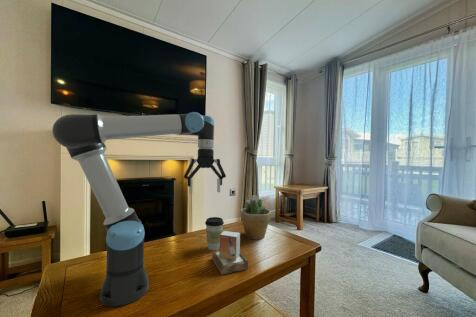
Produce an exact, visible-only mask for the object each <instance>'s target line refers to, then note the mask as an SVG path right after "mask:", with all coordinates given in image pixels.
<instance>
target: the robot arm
mask: <svg viewBox="0 0 476 317" xmlns="http://www.w3.org/2000/svg"><path fill="white" fill-rule="evenodd" d="M51 130H52V135H53V138H54V139H55V141H56V142H57V143H58V144H59V145H61V146H63V147H65V148H66V150H67V152H68V154H69V156H70V158H71V160H74V161H77V162H78V163H79V165H80V167H81V169H82V171H83V174H84V177H85V178H86V179H87V182H88V184H89V185H90V188H91V190H92V192H93V194H94V196H95V198H96V201H97V202H98V203H97V204H99V207H100V209H101V211H102V213H103V215H104V217H105V219H104V221H103V226H104V228H105V230H106V237H105V242H106V271H105V272H106V274H105V276H104V280H103V283H102V285H101V289H100V291H99V301H100V303H101V304H102V305H104V306H106V307H111V308H112V307H121V306H122V307H123V306H125V305H128V304H129V305H130V304H131V303H134V302H136V301H137V300H139V299H141V298H142V297H143V296H144V295H146V293H147V292H148V290H149V285H150V284H149V282H150V280H149V277H148V273H147V271H146V268H145V266H144V264H145V263H144V262H145V261H144V259H145V234H146V232H145V228H144V225H143V224H142V221H141V219H139V218H138V216H137V213H136V211H135V209H134V208H132V207H129V205H128V203H127V201H126V199H125V196H124V195H123V192H122V190H121V188H120V185H119V183H118V181H117V178H116V176H115V175H114V173H113V170H112V168H111V165H110V163H109V161H108V159H107V156H106V155H105V152H106V151H107V145H106V144H105V142H106V141H108V140H110V141H111V140H121V139H133V138H141V137H144V138H145V137H155V136H168V135H169V136H170V135H179V136H195V137H197V148H198V149H197V158H191V159H190V163H189V165H188V167H187V169H186V171H185V173H184V175H183V178H184V179H186V180H187V182H186V183H187V184H186V185H187V187H189V194H190V195H192V194H193V179H192V178H194V176H195V175H196V174H197V172H198V171H199V170H200V169H209V168H210V170H212V171H213V172H214V174H215V175H216V176H217V177H218V178H217V179H216V181H217V184H216V192H217V193H221V186H223V179H224V178H226V177H227V175H226V173H225V170H224V169H223V166H222V165H221V160H220V159H219V158H216V159H215V158H214V157H215V156H214V153H215V152H214V148H215V145H214V144H215V143H214V142H215V141H214V139H215V138H214V136H215V120H214V117H213V116H210V115H202V114H200V113H199V112H197V111H192V112H188V113H181V114H180V113H179V114H176V113H175V114H156V115H155V114H153V115H152V114H151V115H130V116H129V115H128V116H106V117H105V116H101V115H100V114H98V113H97V114H87V113H86V114H80V113H77V114H75V113H71V114H66V115H63V116H60V117H59V118H58V119H57V120H56V121H55V122H54V124H53V126H52V129H51ZM196 163H197V165H196V167H195V168H194V169H193V167H194V164H196ZM214 163H215V164H216V166H217V168H218V169H216V167H215V166H214V165H213V164H214ZM192 169H193V170H192ZM218 170H219V171H218ZM190 172H191V173H190Z"/></svg>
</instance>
